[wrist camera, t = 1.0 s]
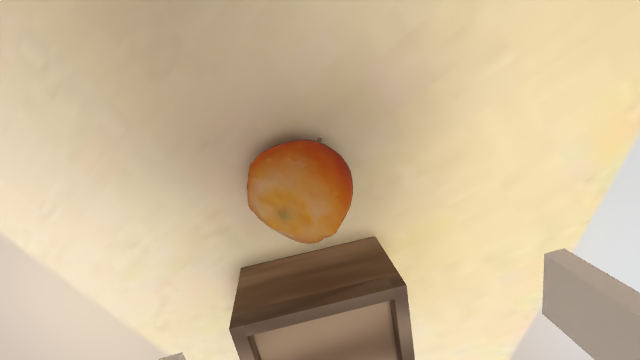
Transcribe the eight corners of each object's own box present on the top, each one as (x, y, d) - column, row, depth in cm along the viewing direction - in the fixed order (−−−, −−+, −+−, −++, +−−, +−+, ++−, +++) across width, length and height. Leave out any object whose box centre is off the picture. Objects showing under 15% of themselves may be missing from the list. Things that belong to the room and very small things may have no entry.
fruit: (382, 181, 26) (362, 247, 20) (311, 206, 31) (276, 266, 24) (333, 99, 24) (294, 146, 17) (263, 139, 28) (211, 187, 22)
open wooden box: (241, 268, 29) (229, 329, 21) (375, 236, 29) (406, 285, 22) (273, 370, 33) (272, 450, 26) (390, 340, 34) (420, 408, 26)
